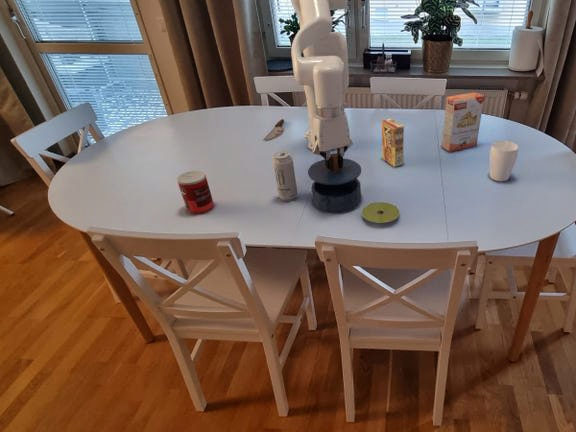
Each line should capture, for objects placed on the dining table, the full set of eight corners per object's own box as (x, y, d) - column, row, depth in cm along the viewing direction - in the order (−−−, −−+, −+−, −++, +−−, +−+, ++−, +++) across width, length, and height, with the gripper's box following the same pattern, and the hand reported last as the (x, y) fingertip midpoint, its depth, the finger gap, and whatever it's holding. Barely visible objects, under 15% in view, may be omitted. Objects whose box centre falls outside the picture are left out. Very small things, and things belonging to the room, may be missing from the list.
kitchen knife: (273, 139, 165) (262, 137, 165) (273, 143, 166) (262, 140, 166) (291, 120, 182) (281, 118, 182) (291, 123, 183) (281, 121, 183)
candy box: (403, 164, 147) (404, 125, 138) (394, 167, 145) (395, 128, 136) (390, 156, 153) (390, 118, 144) (381, 158, 151) (381, 120, 142)
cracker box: (449, 153, 155) (455, 100, 143) (441, 147, 160) (445, 96, 148) (477, 146, 160) (485, 95, 149) (468, 141, 165) (475, 91, 153)
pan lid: (298, 181, 117) (296, 163, 113) (322, 158, 129) (320, 140, 126) (349, 190, 113) (348, 171, 109) (368, 165, 125) (368, 147, 122)
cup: (513, 173, 141) (519, 142, 134) (511, 185, 134) (518, 152, 127) (487, 169, 143) (492, 138, 137) (484, 180, 136) (489, 149, 130)
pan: (300, 212, 120) (298, 197, 117) (329, 181, 136) (327, 167, 133) (346, 221, 116) (345, 205, 113) (370, 188, 132) (370, 173, 129)
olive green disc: (368, 204, 124) (368, 199, 123) (403, 210, 121) (403, 204, 120) (356, 224, 115) (356, 218, 114) (393, 230, 112) (393, 225, 111)
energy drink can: (275, 199, 126) (267, 157, 118) (286, 190, 131) (279, 149, 122) (291, 203, 124) (284, 160, 116) (301, 194, 129) (295, 152, 120)
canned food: (191, 201, 125) (181, 171, 119) (217, 200, 126) (208, 170, 119) (183, 215, 119) (172, 183, 113) (210, 213, 119) (201, 182, 113)
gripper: (349, 101, 116) (352, 157, 126) (297, 111, 109) (305, 169, 119) (361, 108, 110) (363, 166, 121) (308, 120, 103) (315, 180, 114)
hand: (334, 167), depth 120 cm, fingers closed on pan lid, 2 cm apart
